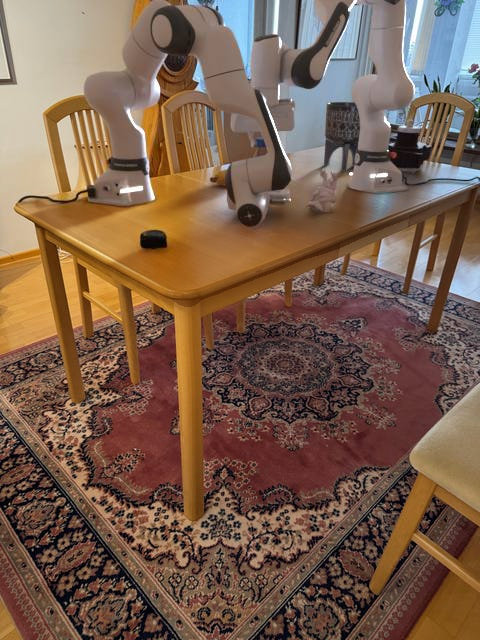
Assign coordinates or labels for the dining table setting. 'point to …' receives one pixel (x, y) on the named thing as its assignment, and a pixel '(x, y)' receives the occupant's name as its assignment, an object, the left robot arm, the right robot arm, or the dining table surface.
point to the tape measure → (153, 239)
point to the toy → (219, 178)
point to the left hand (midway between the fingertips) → (260, 189)
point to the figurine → (324, 194)
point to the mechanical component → (409, 148)
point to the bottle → (260, 151)
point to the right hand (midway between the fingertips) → (262, 146)
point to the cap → (260, 142)
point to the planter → (341, 131)
